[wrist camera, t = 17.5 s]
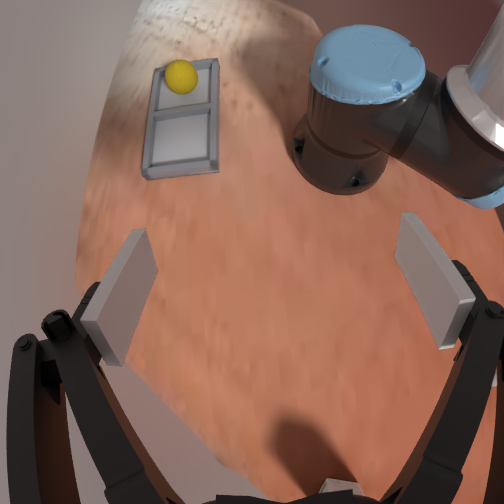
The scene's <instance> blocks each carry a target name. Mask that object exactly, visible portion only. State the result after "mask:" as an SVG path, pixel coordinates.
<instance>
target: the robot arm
mask: <svg viewBox="0 0 504 504" xmlns="http://www.w3.org/2000/svg"><path fill="white" fill-rule="evenodd" d="M309 78H310V84H309V96H308V107H307V112H306V114H305V115H304V116H303V117H302V119H301V120H300V121H299V123H298V124H297V126H296V128H295V131H294V134H293V139H292V155H293V159H294V162H295V165H296V167H297V169H298V170H299V172H300V173H301V174H302V176H303V177H304V178H305V179H306V180H307V181H308V182H309V183H311V184H312V185H313V186H315V187H317V188H318V189H320V190H322V191H325V192H328V193H331V194H336V195H353V194H358V193H361V192H363V191H365V190H367V189H369V188H370V187H372V186H373V185H374V184H375V183H376V182H377V181H378V179H379V178H380V176H381V175H382V173H383V172H384V170H385V167H386V164H387V161H388V154H389V155H391V156H392V157H394V158H396V159H397V160H399V161H401V162H402V163H404V164H406V165H407V166H409V167H411V168H412V169H414V170H416V171H417V172H419V173H420V174H422V175H424V176H425V177H427V178H428V179H430V180H431V181H433V182H435V183H436V184H438V185H439V186H441V187H442V188H444V189H445V190H447V191H448V192H450V193H451V194H452V195H454V196H455V197H456V198H458V199H460V200H463V201H465V202H467V203H469V204H470V205H472V206H474V207H476V208H479V209H491V208H494V207H497V206H499V205H501V204H502V203H504V4H503V7H502V8H501V10H500V12H499V14H498V16H497V18H496V20H495V22H494V23H493V25H492V27H491V29H490V31H489V33H488V35H487V36H486V38H485V40H484V42H483V43H482V45H481V47H480V49H479V50H478V52H477V54H476V55H475V57H474V59H473V61H472V62H471V64H470V65H458V66H455V67H452V68H451V69H450V71H449V72H448V74H447V75H446V77H445V79H442V78H441V77H439V76H437V75H435V74H434V73H432V72H430V71H428V70H426V69H425V63H424V59H423V57H422V55H421V53H420V51H419V50H418V49H417V48H415V47H412V43H411V42H410V41H409V40H408V39H406V38H405V37H403V36H402V35H400V34H398V33H396V32H393V31H391V30H389V29H386V28H382V27H379V26H373V25H352V26H347V27H340V28H337V29H335V30H333V31H331V32H329V33H328V34H326V35H325V36H324V37H323V38H322V39H321V40H320V41H319V43H318V44H317V46H316V48H315V51H314V57H313V62H312V64H311V66H310V71H309ZM395 259H396V261H397V263H398V265H399V267H400V269H401V270H402V272H403V274H404V276H405V278H406V280H407V282H408V284H409V286H410V288H411V290H412V292H413V294H414V296H415V298H416V300H417V302H418V304H419V307H420V309H421V311H422V313H423V315H424V317H425V319H426V322H427V324H428V326H429V328H430V330H431V333H432V335H433V337H434V339H435V342H436V344H437V346H438V349H439V350H440V349H446V348H451V347H454V345H455V343H456V341H457V339H458V337H459V339H460V341H461V343H462V345H461V347H460V349H459V351H458V352H457V354H456V356H455V358H454V360H453V361H455V362H454V365H453V367H452V370H451V372H450V375H449V377H448V380H447V382H446V384H445V387H444V389H443V391H442V394H441V396H440V398H439V400H438V403H437V405H436V407H435V409H434V411H433V413H432V415H431V417H430V419H429V421H428V423H427V425H426V427H425V429H424V431H423V433H422V435H421V437H420V439H419V441H418V443H417V445H416V446H415V448H414V450H413V452H412V453H411V455H410V457H409V459H408V460H407V462H406V464H405V466H404V467H403V469H402V470H401V472H400V474H399V475H398V477H397V478H396V480H395V481H394V483H393V484H392V485H391V487H390V488H389V489H388V490H387V492H386V493H385V494H384V496H383V497H382V498H381V500H380V501H377V500H375V499H373V498H370V497H366V496H362V495H356V494H353V489H348V490H340V491H332V492H323V493H318V494H315V495H312V496H308V497H305V498H302V499H299V500H295V501H292V502H288V503H280V502H275V501H270V500H265V499H260V498H256V497H252V496H232V495H216V500H214V501H209V502H206V503H203V504H451V503H452V501H453V499H454V497H455V495H456V493H457V491H458V489H459V487H460V484H461V482H462V479H463V475H462V473H461V470H462V467H463V465H464V463H465V460H466V458H467V456H468V453H469V451H470V448H471V446H472V443H473V441H474V438H475V436H476V433H477V430H478V427H479V425H480V422H481V419H482V416H483V413H484V410H485V407H486V404H487V400H488V397H489V394H490V390H491V387H492V383H493V379H494V376H495V372H496V368H497V401H496V419H495V431H494V441H493V450H492V457H491V464H490V471H489V476H488V482H487V487H486V492H485V497H484V501H483V504H504V308H503V307H502V306H501V305H500V304H498V303H497V302H494V301H488V299H487V298H486V296H485V294H484V293H483V291H482V290H481V288H480V287H479V285H478V284H477V283H476V281H474V278H473V277H472V275H470V272H469V271H468V270H467V268H466V267H465V266H464V265H463V264H462V263H460V262H459V261H458V260H450V258H449V257H448V256H447V254H446V253H445V251H444V250H443V249H442V247H441V246H440V245H439V243H438V242H437V241H436V239H435V238H434V237H433V235H432V234H431V233H430V231H429V230H428V229H427V227H426V226H425V225H424V223H423V222H422V221H421V220H420V218H419V217H418V216H417V215H416V213H415V212H405V213H402V214H401V221H400V227H399V234H398V240H397V246H396V251H395ZM157 273H158V268H157V265H156V262H155V259H154V255H153V252H152V249H151V245H150V242H149V239H148V235H147V232H146V228H144V229H133V230H132V231H131V233H130V234H129V236H128V238H127V239H126V241H125V242H124V244H123V246H122V247H121V249H120V250H119V252H118V254H117V255H116V257H115V259H114V260H113V262H112V264H111V265H110V267H109V269H108V271H107V272H106V274H105V276H104V277H103V279H102V281H101V282H95V283H94V284H93V285H92V286H91V287H90V288H89V289H88V290H87V292H86V293H85V295H84V298H83V299H82V300H81V302H80V305H79V306H78V307H77V309H76V311H75V313H74V315H73V317H72V318H70V316H69V314H68V313H67V312H66V311H65V310H56V311H53V312H51V313H50V314H48V315H47V316H46V317H45V318H44V319H43V322H42V324H41V328H42V330H43V331H44V333H45V334H46V336H47V338H48V339H46V340H41V341H38V339H37V338H36V336H35V335H34V334H25V335H23V336H21V337H20V338H19V339H18V340H17V342H16V343H15V345H14V348H13V354H12V361H11V370H10V379H9V391H8V405H7V471H8V485H9V495H10V504H81V502H80V498H79V493H78V489H77V483H76V478H75V472H74V467H73V460H72V455H71V448H70V439H69V432H68V422H67V412H66V398H65V392H66V395H67V397H68V400H69V403H70V406H71V409H72V411H73V414H74V416H75V419H76V422H77V424H78V427H79V429H80V431H81V434H82V436H83V438H84V441H85V443H86V446H87V448H88V450H89V452H90V454H91V457H92V459H93V461H94V463H95V465H96V467H97V469H98V471H99V473H100V475H101V477H102V479H103V481H104V483H105V486H106V489H105V491H104V493H105V497H106V499H107V501H108V503H109V504H185V503H184V502H183V500H182V499H181V498H180V497H179V496H178V495H177V494H176V493H175V492H174V490H173V489H172V488H171V486H170V485H169V483H168V482H167V481H166V479H165V478H164V476H163V475H162V473H161V472H160V470H159V469H158V467H157V466H156V465H155V463H154V461H153V460H152V458H151V457H150V455H149V454H148V452H147V450H146V449H145V447H144V446H143V444H142V442H141V441H140V439H139V437H138V436H137V434H136V432H135V431H134V429H133V427H132V425H131V424H130V422H129V420H128V418H127V416H126V415H125V413H124V411H123V409H122V408H121V406H120V404H119V402H118V400H117V398H116V396H115V394H114V392H113V390H112V388H111V386H110V384H109V382H108V380H107V378H106V376H105V374H104V372H103V370H102V368H101V366H100V365H99V362H100V360H101V357H102V358H103V360H104V361H105V363H106V364H107V365H110V366H123V363H124V360H125V357H126V354H127V351H128V349H129V346H130V343H131V340H132V338H133V335H134V332H135V329H136V327H137V324H138V321H139V319H140V316H141V313H142V311H143V308H144V306H145V303H146V300H147V298H148V295H149V293H150V290H151V288H152V285H153V283H154V280H155V278H156V275H157Z"/></svg>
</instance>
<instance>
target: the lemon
mask: <svg viewBox="0 0 504 504" xmlns="http://www.w3.org/2000/svg"><path fill="white" fill-rule="evenodd" d="M165 81H166V84H167V86H168V87H169V89H170V90H171V91H172V92H174V93H176V94H179V95H184V94H188V93H190V92H192V91H193V90H194V89H195V88H196V86H197V83H198V74H197V71H196V69H195V67H194V66H193V65H192V64H191V63H190V62H188V61H186V60H176V61H173V62H172V63H170V64H169V65H168V67H167V68H166V70H165Z"/></svg>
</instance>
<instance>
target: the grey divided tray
mask: <svg viewBox="0 0 504 504" xmlns="http://www.w3.org/2000/svg"><path fill="white" fill-rule="evenodd" d="M190 63H191V64H192V65H193V66H194V67H195V69H196V71H197V74H198V83H197V86H196V88H195V89H194V90H193V91H192V92H190V93H188V94H184V95H179V94H176V93H174V92H172V91H171V90H170V89H169V87H168V86H167V84H166V81H165V70H166V68H167V67H168V66H166V67H161V68H156V69H155V74H154V80H153V86H152V92H151V99H150V106H149V113H148V120H147V128H146V136H145V145H144V154H143V164H142V176H143V177H144V178H145V179H146V180H147V181H149V180H156V179H164V178H172V177H180V176H189V175H198V174H208V173H218V172H219V86H220V66H219V62H218V58H214V59H207V60H200V61H194V62H190Z"/></svg>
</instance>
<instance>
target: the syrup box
mask: <svg viewBox="0 0 504 504" xmlns="http://www.w3.org/2000/svg"><path fill="white" fill-rule="evenodd" d="M348 489H353V494H356V495H362V496H365V495H364V493H363V491H362V489H361V487H360V485H359V483H355V482H349V481H343V480H337V479H331V478H326V480H325V482H324V484H323V486H322V487H321V489H320V491H319V493H323V492H332V491H340V490H348Z"/></svg>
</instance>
